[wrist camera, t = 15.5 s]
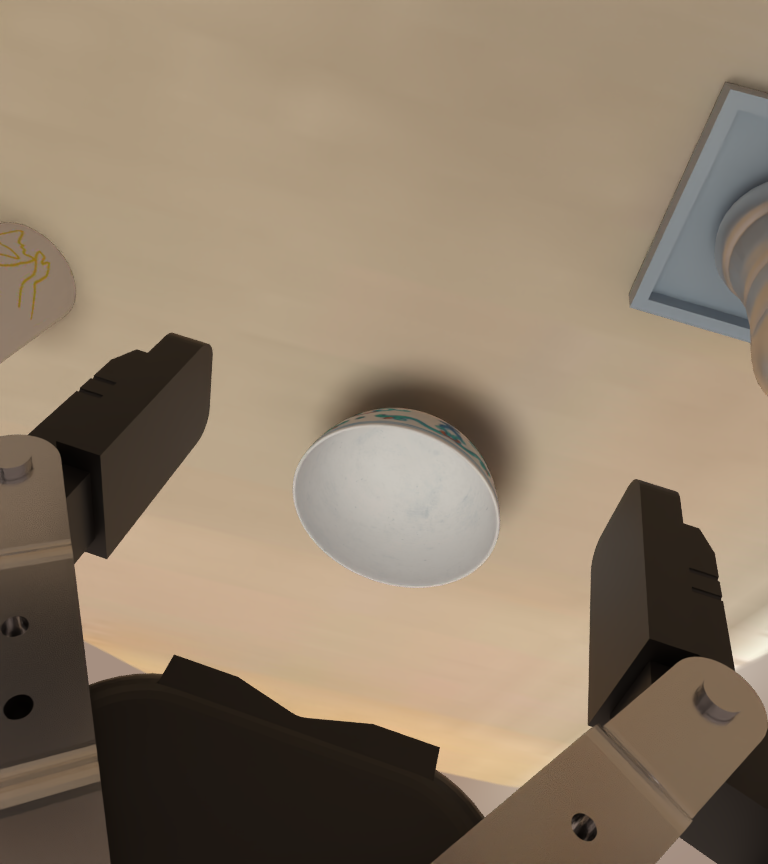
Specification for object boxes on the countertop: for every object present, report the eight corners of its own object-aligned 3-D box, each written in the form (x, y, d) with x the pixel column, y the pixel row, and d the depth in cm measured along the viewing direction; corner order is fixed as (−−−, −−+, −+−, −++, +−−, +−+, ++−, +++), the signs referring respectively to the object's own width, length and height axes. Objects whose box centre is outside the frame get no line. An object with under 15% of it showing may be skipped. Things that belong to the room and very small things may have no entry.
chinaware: (328, 504, 63) (299, 567, 57) (321, 354, 54) (284, 410, 48) (500, 534, 60) (489, 604, 54) (522, 380, 51) (511, 443, 45)
